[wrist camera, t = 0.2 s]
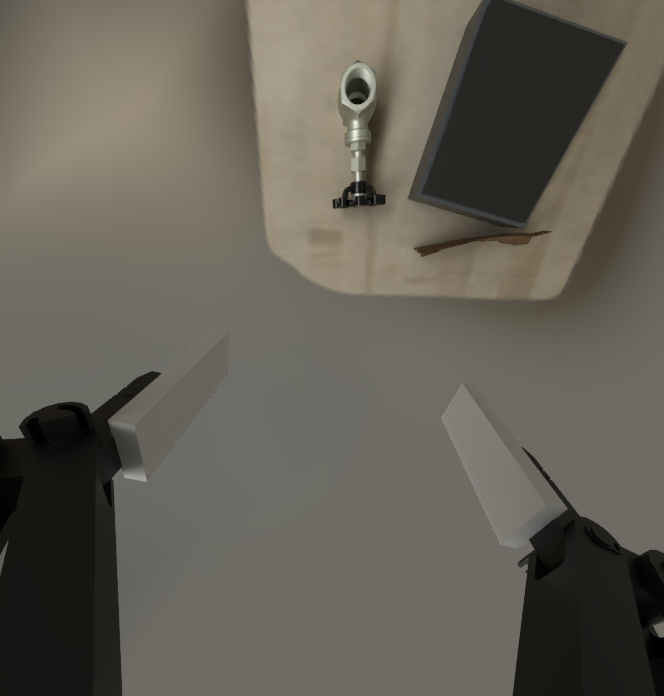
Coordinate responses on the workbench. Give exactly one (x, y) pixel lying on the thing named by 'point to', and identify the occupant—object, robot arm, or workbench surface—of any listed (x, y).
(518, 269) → the workbench surface
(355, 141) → the valve
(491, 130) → the stand
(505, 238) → the wood plank
